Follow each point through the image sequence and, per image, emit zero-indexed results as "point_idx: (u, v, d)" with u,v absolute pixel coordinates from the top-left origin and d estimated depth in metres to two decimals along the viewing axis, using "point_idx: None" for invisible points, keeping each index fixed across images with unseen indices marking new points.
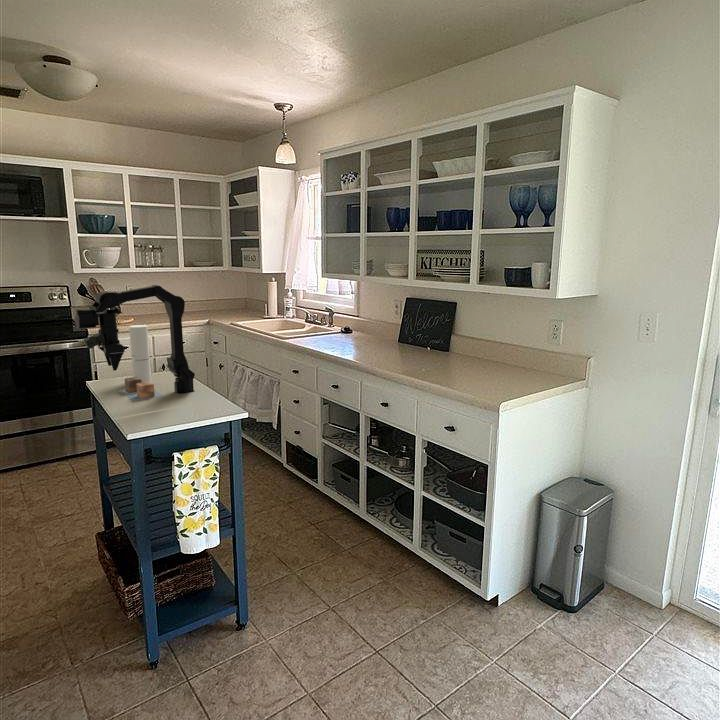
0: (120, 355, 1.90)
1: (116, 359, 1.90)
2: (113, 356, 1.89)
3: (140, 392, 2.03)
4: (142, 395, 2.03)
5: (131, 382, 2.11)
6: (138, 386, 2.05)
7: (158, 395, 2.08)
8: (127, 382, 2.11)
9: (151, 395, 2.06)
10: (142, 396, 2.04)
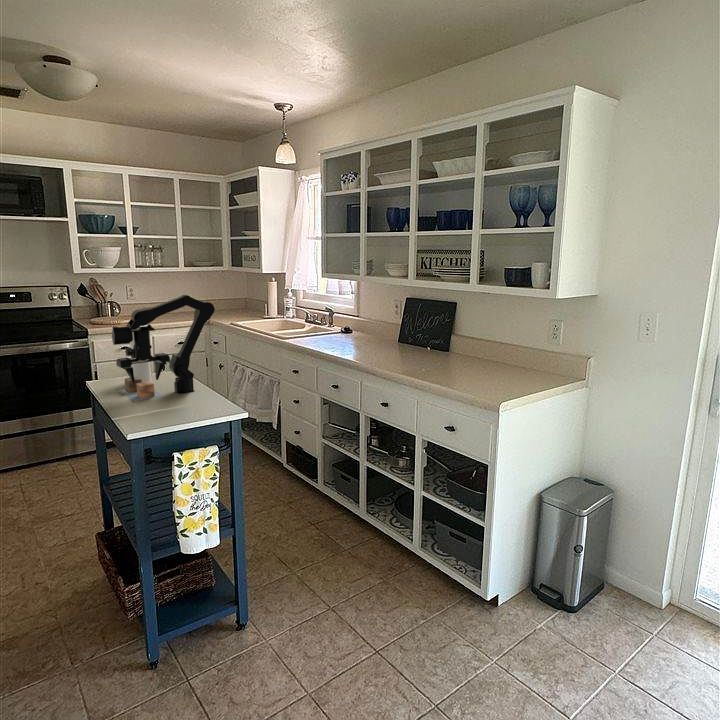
0: (128, 370, 1.99)
1: (129, 373, 2.01)
2: None
3: (140, 392, 2.03)
4: (142, 395, 2.03)
5: (131, 382, 2.11)
6: (138, 386, 2.05)
7: (158, 395, 2.08)
8: (127, 382, 2.11)
9: (151, 395, 2.06)
10: (142, 396, 2.04)
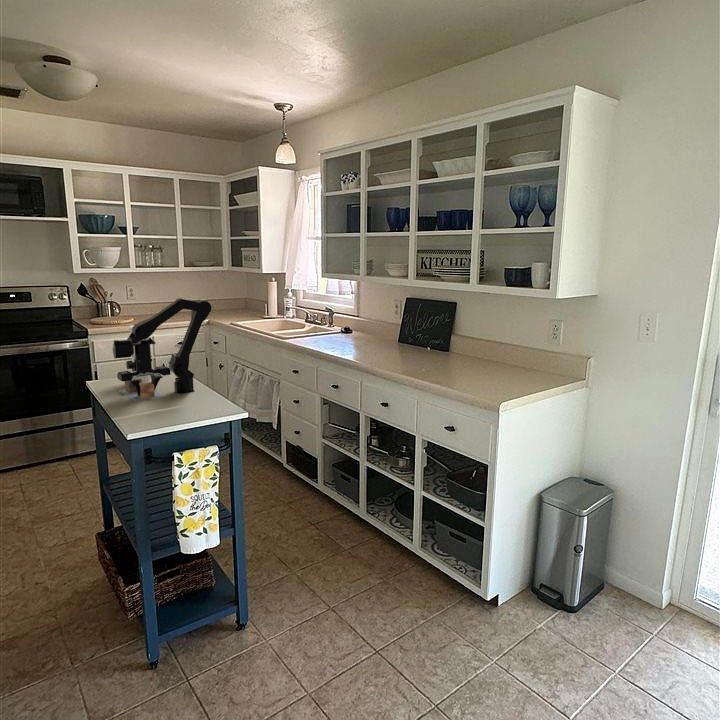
0: (134, 383, 2.01)
1: None
2: None
3: (140, 392, 2.03)
4: (142, 395, 2.03)
5: None
6: None
7: (158, 395, 2.08)
8: (127, 382, 2.11)
9: (151, 395, 2.06)
10: (142, 396, 2.04)
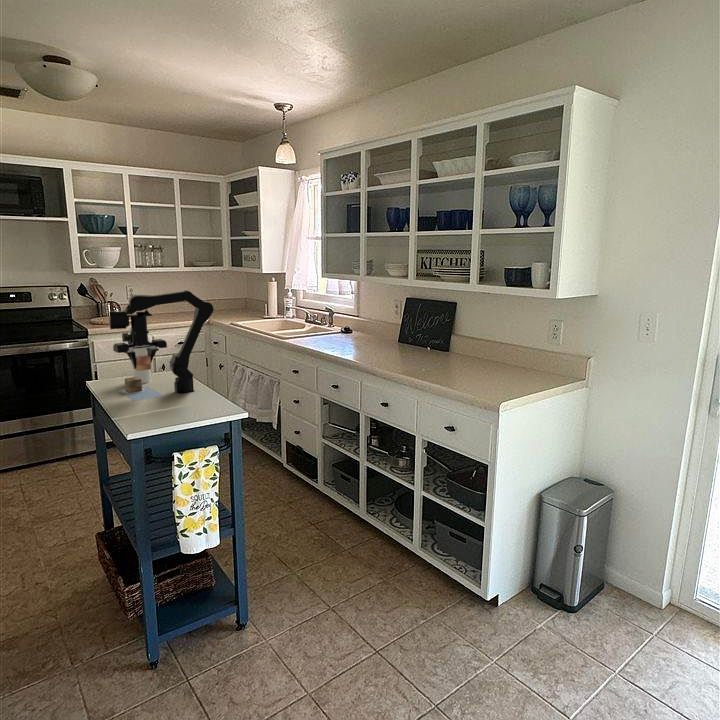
0: (130, 355, 2.00)
1: (131, 358, 2.02)
2: (130, 354, 2.02)
3: (137, 364, 2.02)
4: (138, 368, 2.02)
5: (131, 382, 2.11)
6: None
7: (158, 395, 2.08)
8: (127, 382, 2.11)
9: (147, 368, 2.05)
10: (138, 368, 2.02)
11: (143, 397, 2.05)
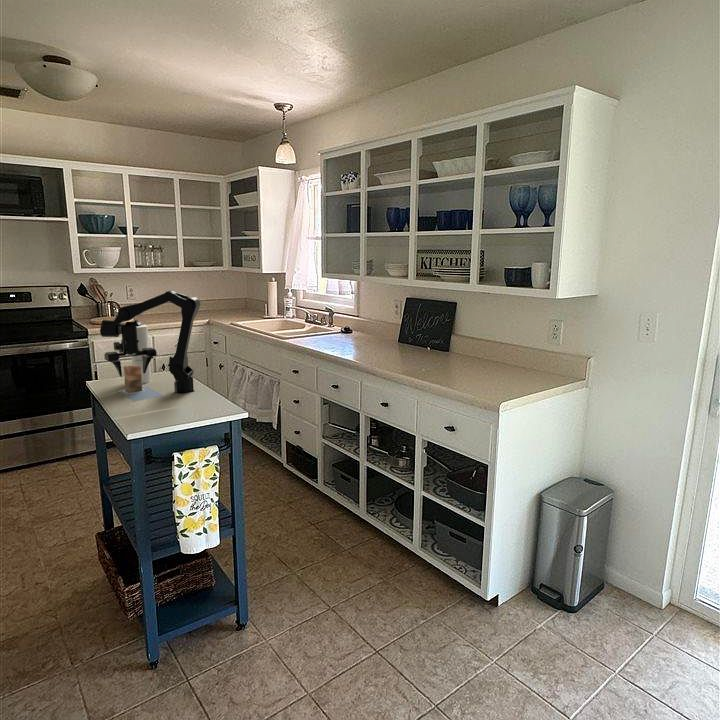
0: (116, 364, 2.06)
1: (117, 367, 2.08)
2: (116, 363, 2.08)
3: (127, 374, 2.10)
4: (129, 378, 2.10)
5: (131, 382, 2.11)
6: (125, 369, 2.11)
7: (158, 395, 2.08)
8: (127, 382, 2.11)
9: (138, 378, 2.12)
10: (129, 378, 2.10)
11: (143, 397, 2.05)
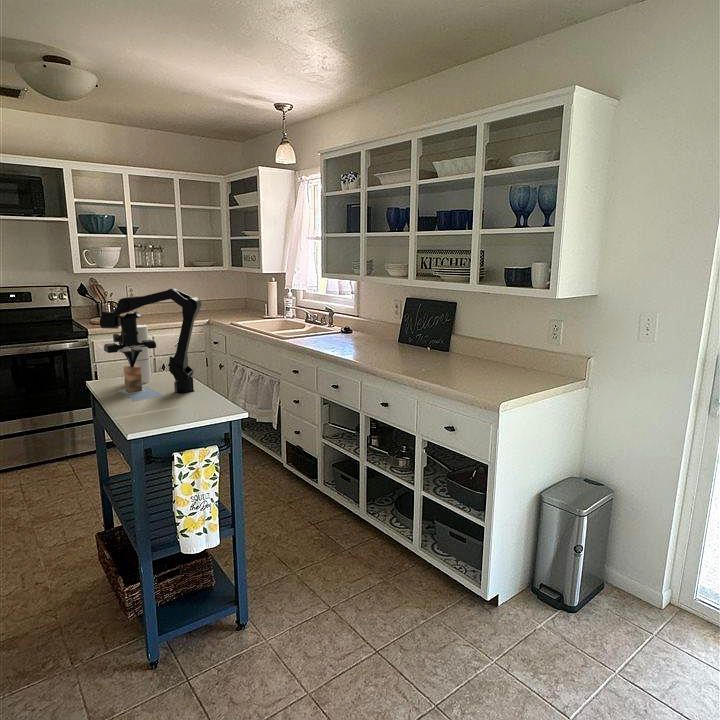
0: (127, 354, 2.08)
1: (128, 357, 2.10)
2: (127, 354, 2.10)
3: (127, 374, 2.10)
4: (129, 378, 2.10)
5: (131, 382, 2.11)
6: (125, 369, 2.11)
7: (158, 395, 2.08)
8: (127, 382, 2.11)
9: (138, 378, 2.12)
10: (129, 378, 2.10)
11: (143, 397, 2.05)
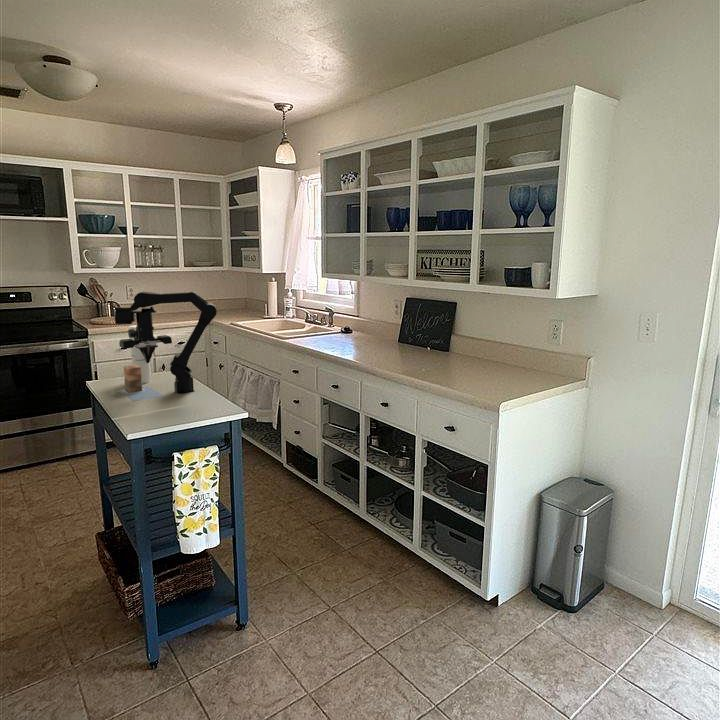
0: (142, 350, 2.05)
1: (143, 353, 2.07)
2: (142, 349, 2.07)
3: (127, 374, 2.10)
4: (129, 378, 2.10)
5: (131, 382, 2.11)
6: (125, 369, 2.11)
7: (158, 395, 2.08)
8: (127, 382, 2.11)
9: (138, 378, 2.12)
10: (129, 378, 2.10)
11: (143, 397, 2.05)
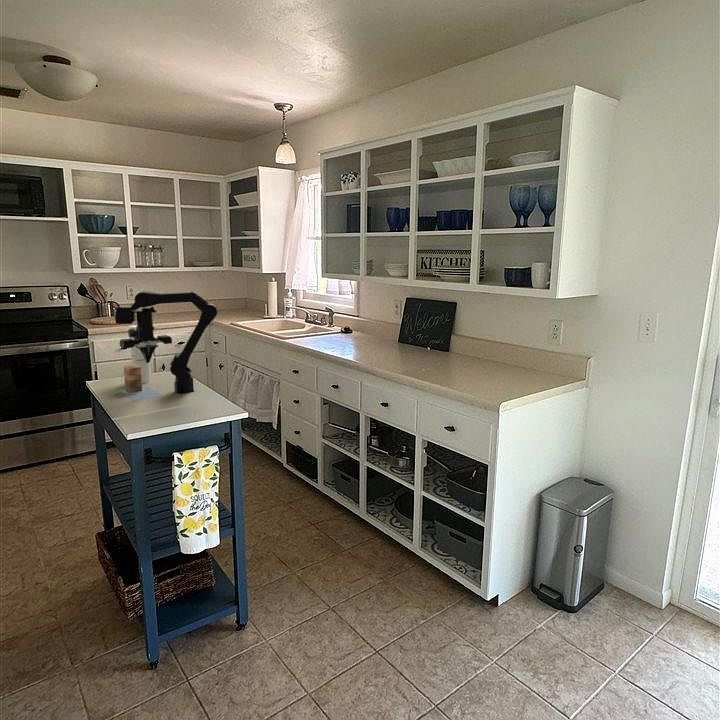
0: (143, 350, 2.05)
1: (143, 353, 2.07)
2: (143, 349, 2.07)
3: (127, 374, 2.10)
4: (129, 378, 2.10)
5: (131, 382, 2.11)
6: (125, 369, 2.11)
7: (158, 395, 2.08)
8: (127, 382, 2.11)
9: (138, 378, 2.12)
10: (129, 378, 2.10)
11: (143, 397, 2.05)
